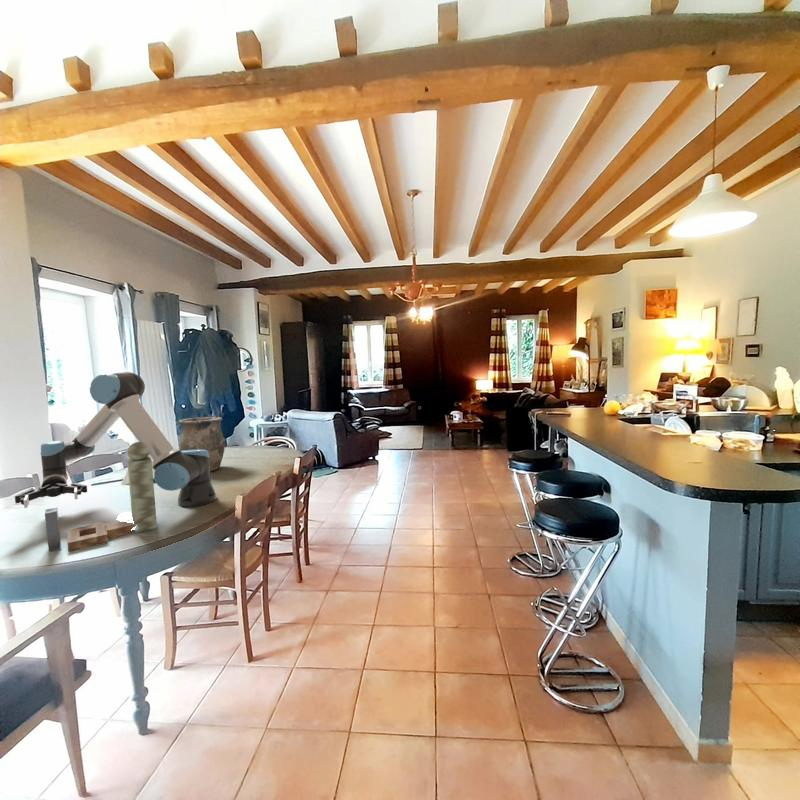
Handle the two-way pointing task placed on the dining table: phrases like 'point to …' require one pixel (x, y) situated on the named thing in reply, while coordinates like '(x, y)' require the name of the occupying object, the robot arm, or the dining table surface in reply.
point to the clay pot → (203, 438)
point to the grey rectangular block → (53, 529)
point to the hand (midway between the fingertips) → (51, 499)
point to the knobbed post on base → (140, 504)
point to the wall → (126, 478)
